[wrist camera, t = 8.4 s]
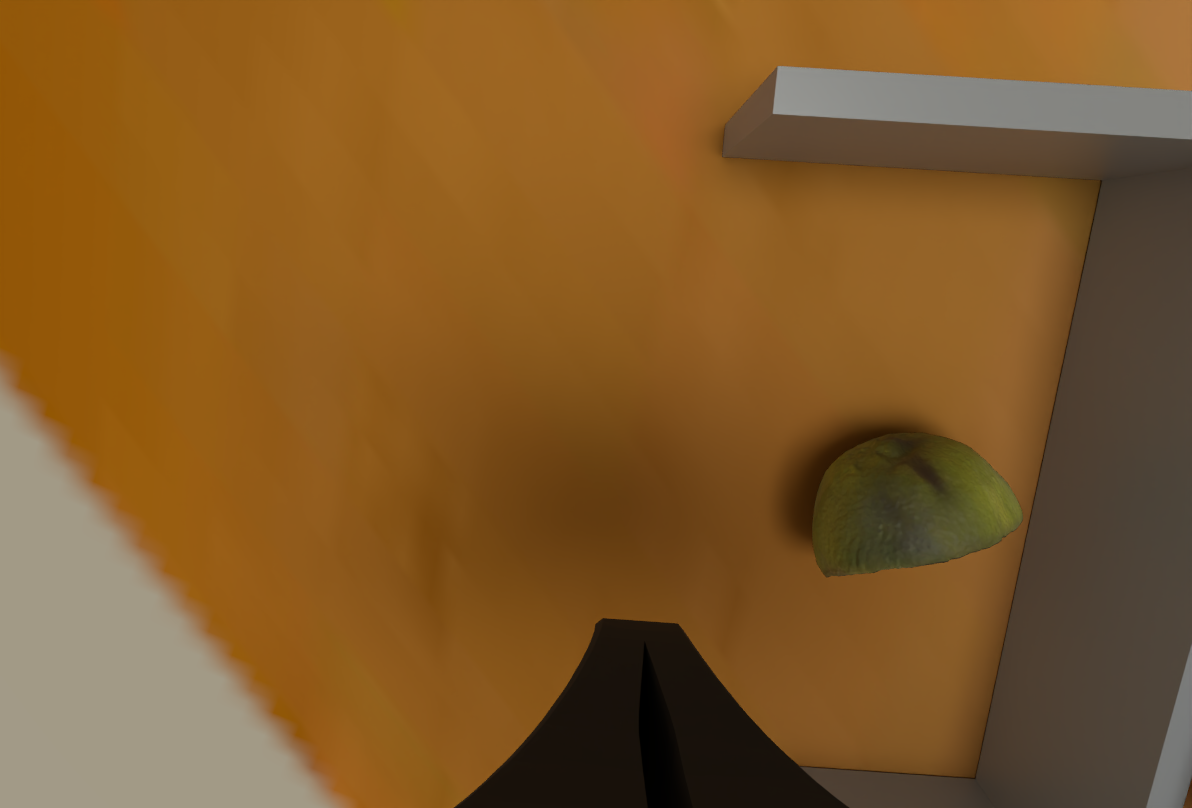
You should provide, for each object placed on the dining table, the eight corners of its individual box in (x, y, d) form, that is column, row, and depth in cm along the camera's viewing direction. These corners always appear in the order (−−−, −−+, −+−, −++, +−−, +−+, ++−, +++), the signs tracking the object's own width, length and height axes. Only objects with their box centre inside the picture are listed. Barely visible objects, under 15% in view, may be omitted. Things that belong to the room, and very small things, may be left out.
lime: (984, 464, 20) (1103, 533, 15) (875, 589, 21) (954, 692, 16) (863, 377, 20) (947, 418, 15) (757, 508, 20) (803, 588, 16)
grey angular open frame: (995, 801, 22) (1128, 993, 17) (662, 778, 22) (679, 960, 17) (1139, 150, 18) (1388, 102, 12) (725, 124, 18) (778, 66, 12)
